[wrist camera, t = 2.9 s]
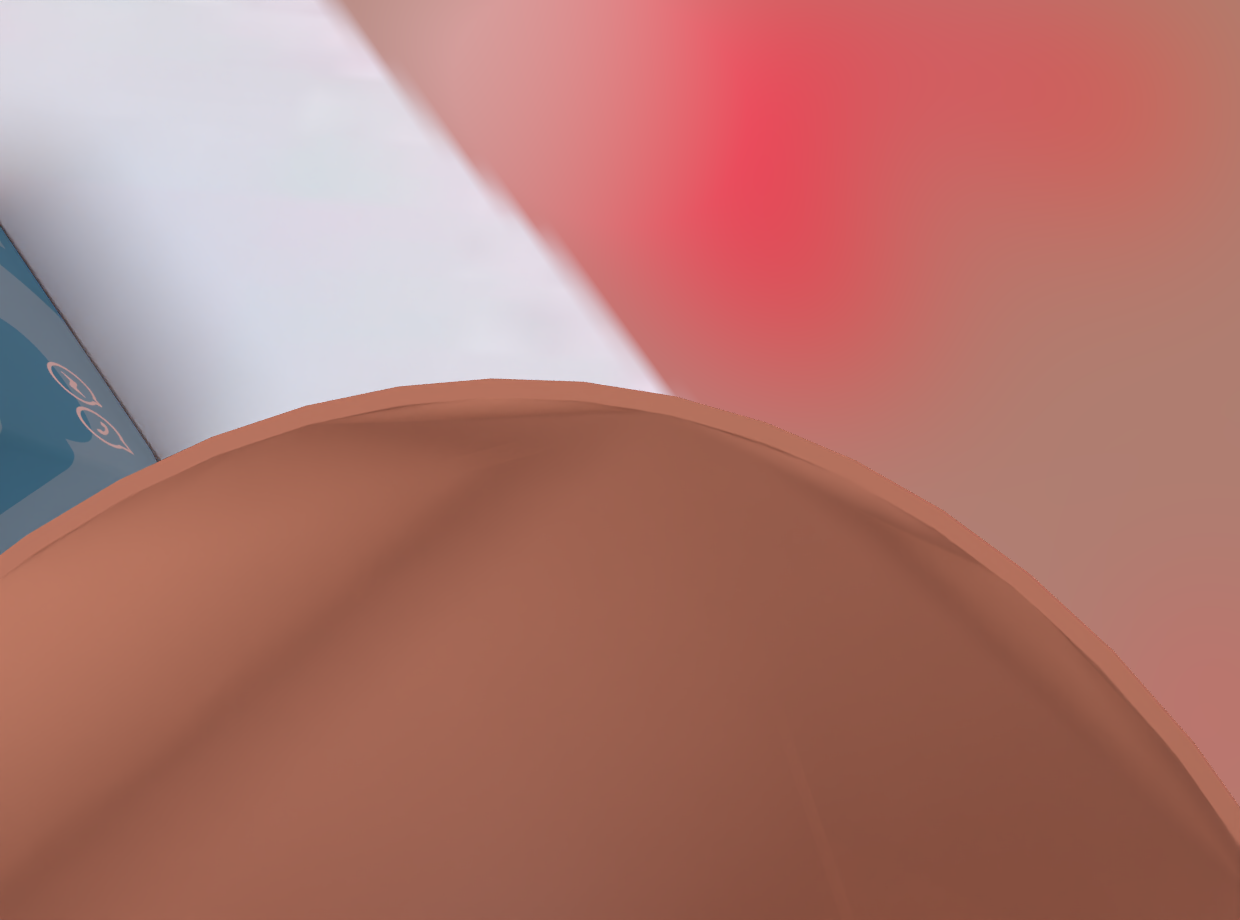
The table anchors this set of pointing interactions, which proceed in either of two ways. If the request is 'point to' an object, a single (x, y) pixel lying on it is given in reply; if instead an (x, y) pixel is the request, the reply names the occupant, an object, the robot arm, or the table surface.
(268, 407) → the table surface
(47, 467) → the data package
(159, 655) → the terracotta canister
